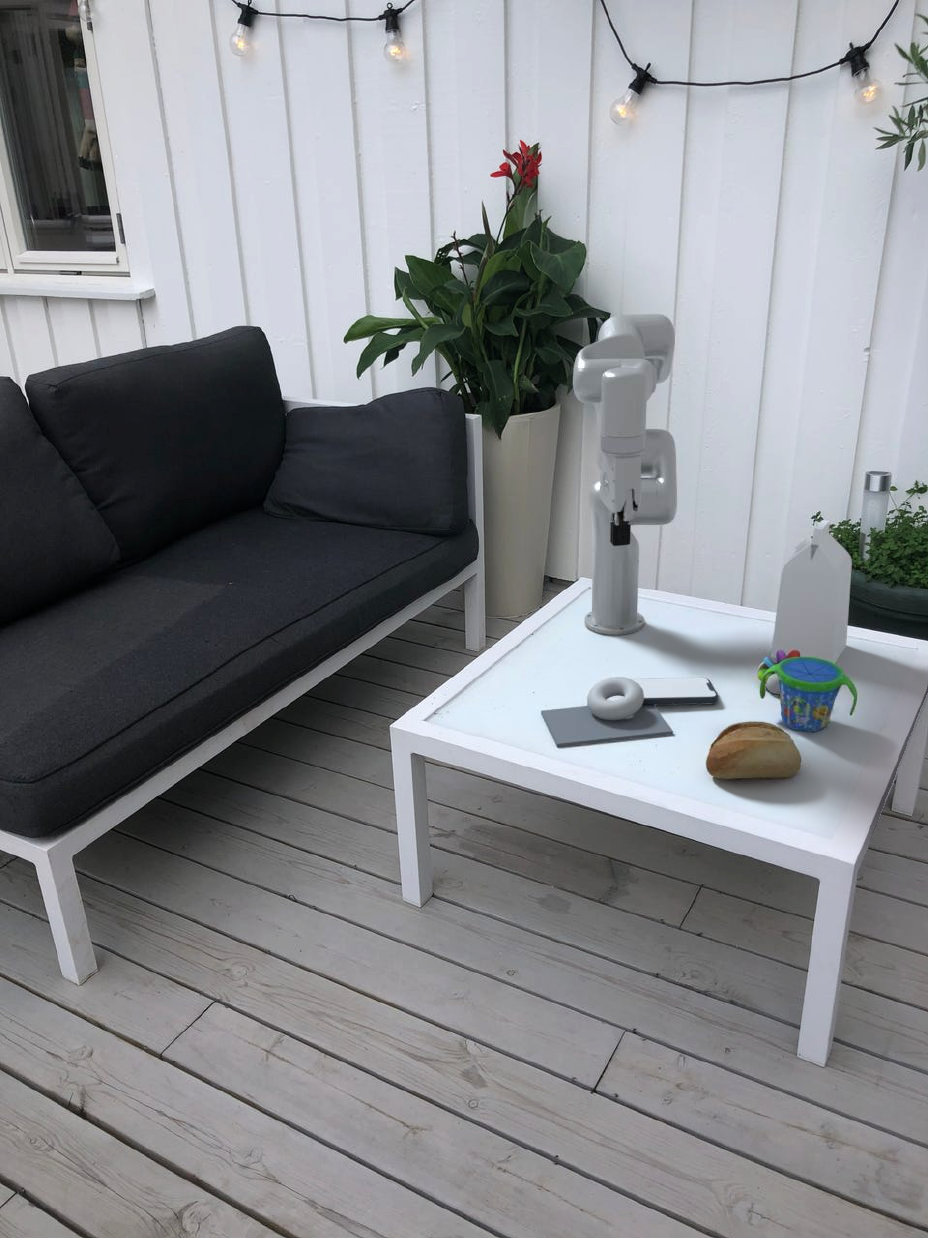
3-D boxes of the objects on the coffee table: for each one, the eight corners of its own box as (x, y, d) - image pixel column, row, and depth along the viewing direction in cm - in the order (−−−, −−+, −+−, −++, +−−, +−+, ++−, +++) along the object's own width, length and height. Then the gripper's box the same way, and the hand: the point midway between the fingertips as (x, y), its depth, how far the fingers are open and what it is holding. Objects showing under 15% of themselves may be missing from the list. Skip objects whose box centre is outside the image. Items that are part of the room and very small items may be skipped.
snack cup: (860, 721, 172) (867, 667, 168) (843, 748, 164) (850, 692, 160) (769, 700, 180) (774, 648, 176) (749, 725, 172) (753, 671, 168)
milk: (831, 668, 191) (846, 537, 181) (770, 657, 196) (782, 529, 186) (846, 645, 200) (861, 519, 190) (787, 635, 206) (799, 512, 196)
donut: (576, 712, 178) (619, 732, 171) (573, 696, 176) (616, 716, 169) (614, 681, 182) (657, 699, 175) (611, 666, 181) (654, 684, 173)
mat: (541, 713, 178) (541, 710, 178) (650, 702, 181) (650, 699, 180) (556, 747, 167) (556, 743, 167) (672, 734, 170) (672, 731, 169)
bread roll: (695, 761, 162) (697, 717, 158) (784, 753, 163) (789, 709, 160) (715, 794, 153) (718, 748, 150) (810, 785, 154) (815, 739, 151)
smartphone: (629, 707, 178) (719, 705, 178) (630, 699, 177) (720, 697, 177) (621, 686, 186) (707, 684, 186) (621, 678, 186) (708, 676, 186)
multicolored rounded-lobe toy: (817, 696, 181) (821, 659, 178) (763, 698, 181) (766, 661, 178) (802, 675, 189) (806, 640, 186) (750, 677, 189) (753, 642, 186)
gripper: (589, 433, 177) (588, 531, 185) (613, 456, 164) (611, 561, 172) (631, 430, 178) (628, 527, 186) (658, 452, 165) (653, 557, 173)
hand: (620, 543), depth 179 cm, fingers closed
